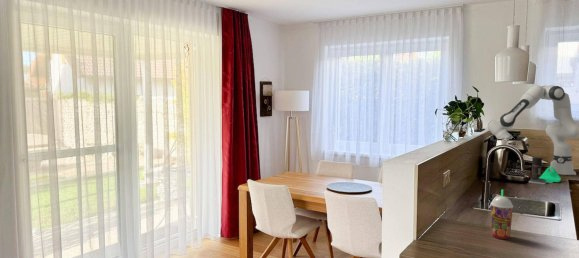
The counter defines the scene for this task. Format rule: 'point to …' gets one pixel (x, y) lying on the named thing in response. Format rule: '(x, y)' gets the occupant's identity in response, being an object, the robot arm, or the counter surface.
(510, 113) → the robot arm
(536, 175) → the deodorant
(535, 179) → the mount plate
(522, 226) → the counter surface
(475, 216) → the counter surface
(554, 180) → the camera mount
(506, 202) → the smoothie
